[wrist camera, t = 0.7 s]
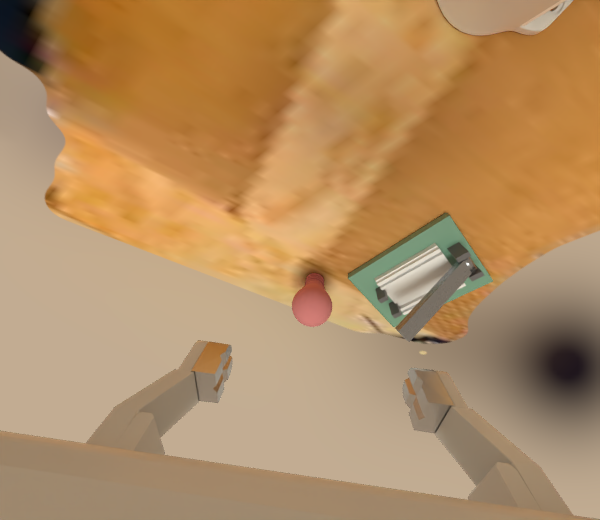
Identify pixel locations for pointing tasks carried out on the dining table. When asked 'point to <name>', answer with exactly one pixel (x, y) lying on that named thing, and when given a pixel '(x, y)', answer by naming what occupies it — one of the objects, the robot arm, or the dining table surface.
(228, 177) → the dining table surface
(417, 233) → the heat sink board
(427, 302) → the steel strap
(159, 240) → the dining table surface
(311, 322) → the light bulb
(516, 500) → the robot arm
